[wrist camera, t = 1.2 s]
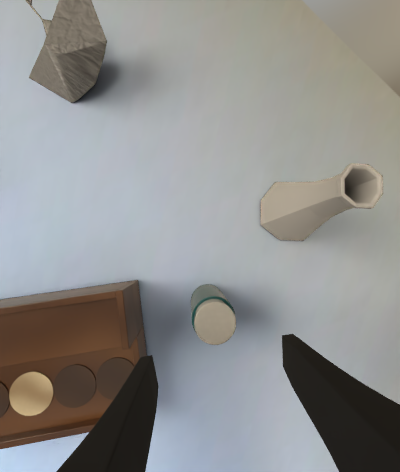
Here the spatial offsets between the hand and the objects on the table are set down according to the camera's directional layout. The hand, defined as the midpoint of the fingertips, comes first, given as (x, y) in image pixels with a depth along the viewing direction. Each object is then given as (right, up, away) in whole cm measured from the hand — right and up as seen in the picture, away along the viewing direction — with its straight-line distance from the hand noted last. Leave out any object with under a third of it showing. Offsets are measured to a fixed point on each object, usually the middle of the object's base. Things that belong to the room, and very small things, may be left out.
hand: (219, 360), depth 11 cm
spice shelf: (-16, -6, +10) cm, 20 cm away
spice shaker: (0, -1, +12) cm, 12 cm away
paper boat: (-15, +27, +12) cm, 33 cm away
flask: (+10, +10, +13) cm, 19 cm away
